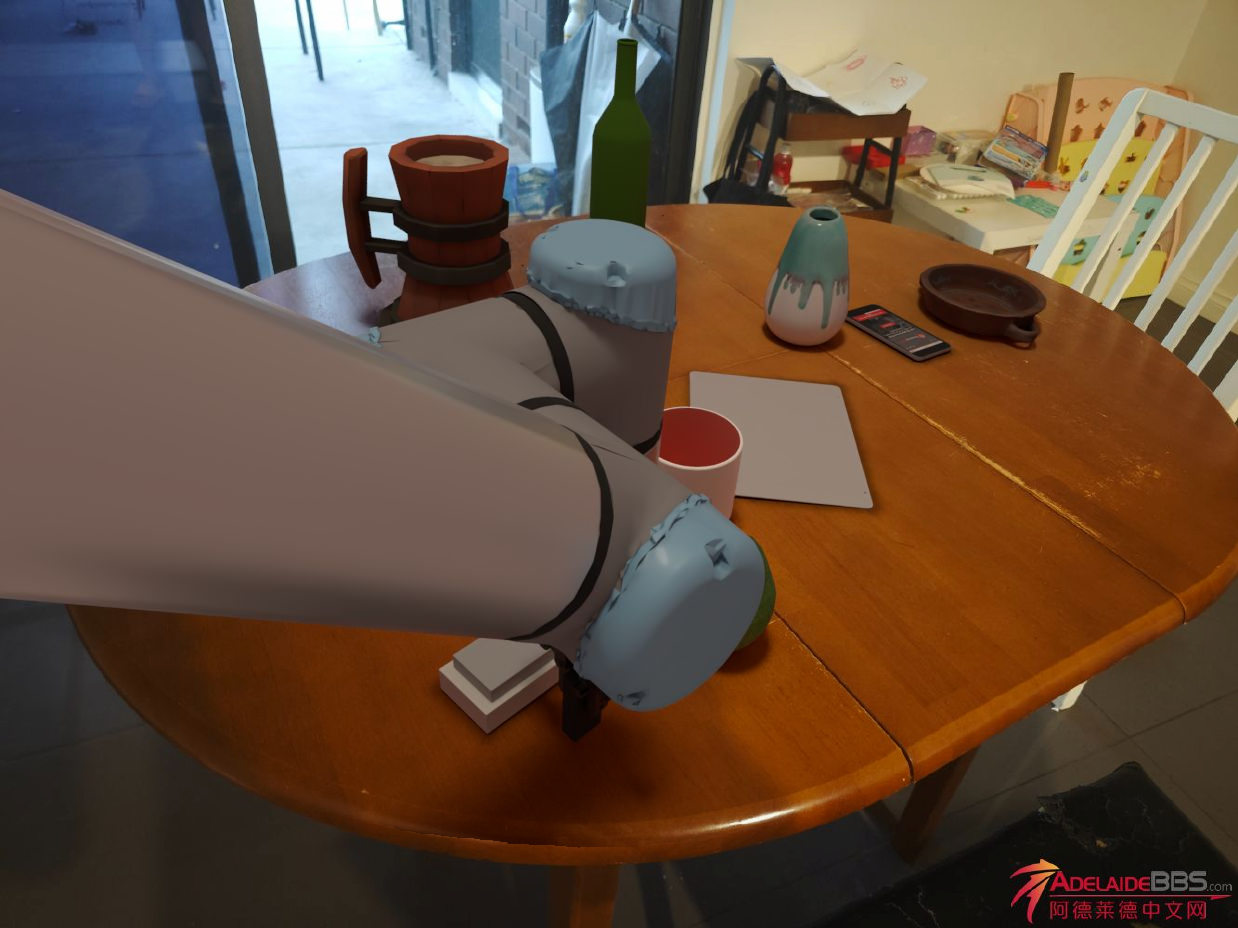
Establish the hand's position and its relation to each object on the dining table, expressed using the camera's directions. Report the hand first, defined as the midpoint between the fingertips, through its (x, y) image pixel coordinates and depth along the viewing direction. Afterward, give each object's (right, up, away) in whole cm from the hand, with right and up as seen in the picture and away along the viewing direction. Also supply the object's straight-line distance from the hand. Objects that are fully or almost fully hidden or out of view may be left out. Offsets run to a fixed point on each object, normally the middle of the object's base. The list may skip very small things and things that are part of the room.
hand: (581, 726), depth 65 cm
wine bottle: (+2, +53, +74) cm, 91 cm away
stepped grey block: (-6, +3, +5) cm, 8 cm away
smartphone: (+43, +39, +58) cm, 82 cm away
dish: (+57, +42, +65) cm, 96 cm away
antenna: (+19, +23, +36) cm, 47 cm away
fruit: (+12, +5, +10) cm, 16 cm away
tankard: (-20, +37, +51) cm, 66 cm away
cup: (+9, +15, +23) cm, 29 cm away
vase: (+29, +38, +57) cm, 74 cm away
